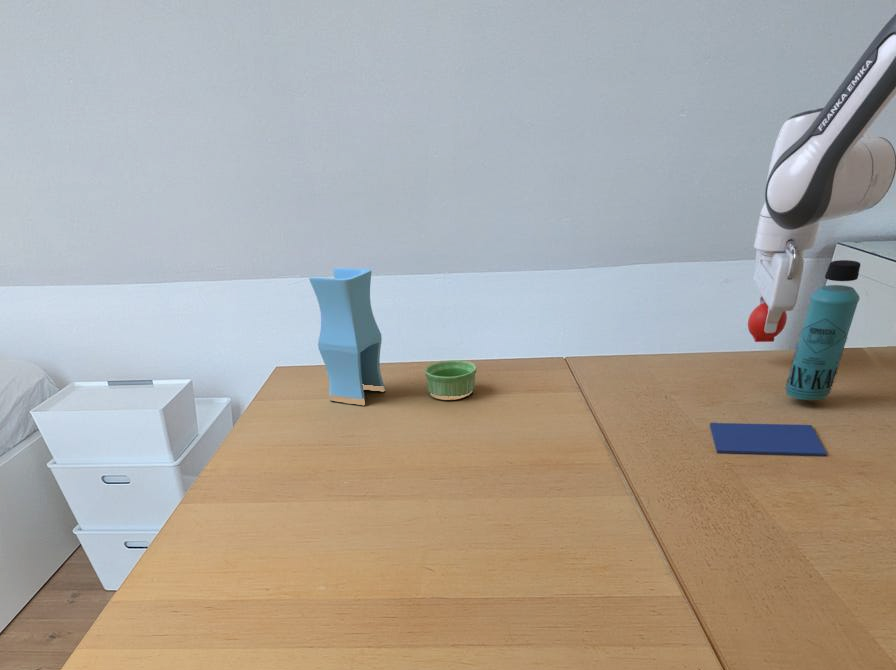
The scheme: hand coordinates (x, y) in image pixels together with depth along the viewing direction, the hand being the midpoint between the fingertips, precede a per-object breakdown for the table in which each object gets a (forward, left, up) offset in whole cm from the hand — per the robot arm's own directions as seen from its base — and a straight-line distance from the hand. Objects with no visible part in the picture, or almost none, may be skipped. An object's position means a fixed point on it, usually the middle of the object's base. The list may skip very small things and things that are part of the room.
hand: (765, 326), depth 120 cm
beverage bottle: (-4, +18, -7) cm, 20 cm away
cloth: (+4, +33, -7) cm, 34 cm away
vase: (+70, +18, -7) cm, 72 cm away
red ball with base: (0, 0, -2) cm, 2 cm away
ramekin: (+53, +16, -7) cm, 55 cm away
